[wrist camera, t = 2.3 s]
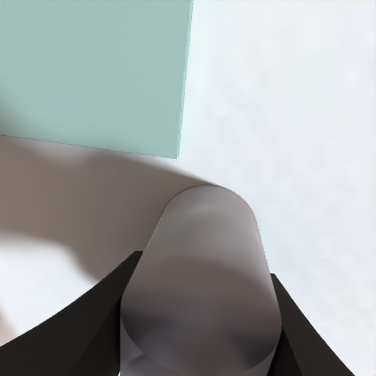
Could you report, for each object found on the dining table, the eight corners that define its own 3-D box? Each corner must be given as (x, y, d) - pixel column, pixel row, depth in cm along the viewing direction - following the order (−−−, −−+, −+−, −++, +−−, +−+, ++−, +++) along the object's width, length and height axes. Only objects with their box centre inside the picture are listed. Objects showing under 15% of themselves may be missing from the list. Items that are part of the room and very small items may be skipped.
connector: (228, 352, 13) (231, 478, 9) (152, 337, 13) (119, 452, 9) (267, 193, 10) (301, 272, 5) (163, 178, 10) (121, 242, 6)
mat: (178, 155, 9) (176, 159, 9) (-18, 128, 10) (-30, 130, 10) (207, -147, 6) (206, -165, 6) (-75, -158, 7) (-95, -175, 7)
